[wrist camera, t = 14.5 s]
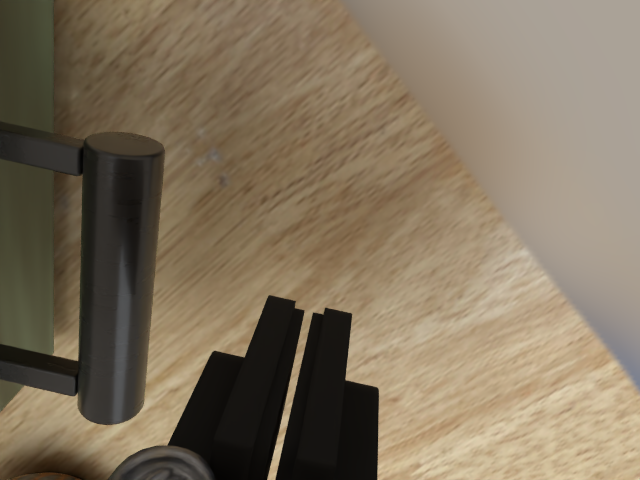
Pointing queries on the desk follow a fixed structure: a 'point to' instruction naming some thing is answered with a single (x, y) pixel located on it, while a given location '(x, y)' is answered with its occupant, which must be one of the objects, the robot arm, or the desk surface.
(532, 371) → the desk surface
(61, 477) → the vase
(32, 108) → the drawer
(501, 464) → the desk surface
